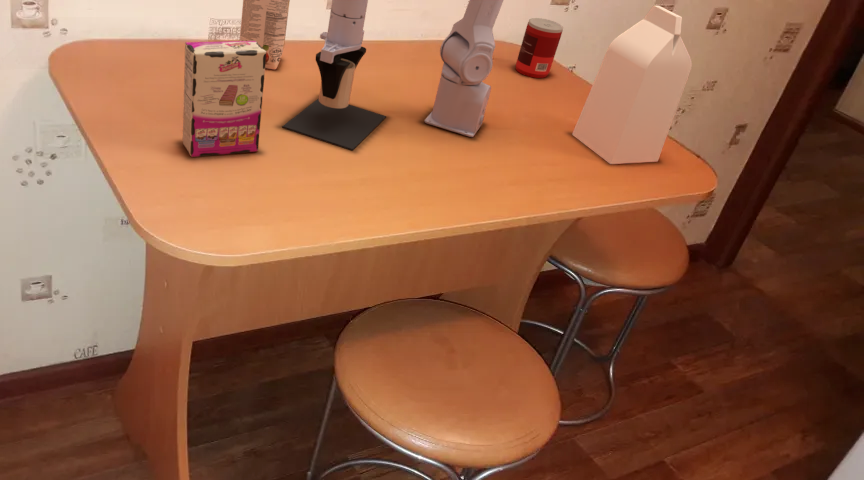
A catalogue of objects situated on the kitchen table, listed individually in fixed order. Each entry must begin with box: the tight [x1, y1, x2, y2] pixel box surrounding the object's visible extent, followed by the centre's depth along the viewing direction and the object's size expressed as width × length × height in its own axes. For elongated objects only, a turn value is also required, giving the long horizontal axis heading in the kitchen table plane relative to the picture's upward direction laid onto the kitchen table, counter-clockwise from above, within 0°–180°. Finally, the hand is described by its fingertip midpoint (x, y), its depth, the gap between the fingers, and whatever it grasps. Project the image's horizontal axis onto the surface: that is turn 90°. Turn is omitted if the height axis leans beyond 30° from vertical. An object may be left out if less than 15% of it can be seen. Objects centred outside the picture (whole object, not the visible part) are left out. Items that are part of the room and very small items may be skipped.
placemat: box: [281, 97, 387, 151], centre depth 139 cm, size 13×17×1 cm
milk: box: [571, 5, 693, 165], centre depth 144 cm, size 12×12×26 cm
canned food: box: [515, 17, 564, 79], centre depth 176 cm, size 8×8×11 cm
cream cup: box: [318, 58, 356, 108], centre depth 136 cm, size 5×5×7 cm
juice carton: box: [239, 0, 291, 70], centre depth 151 cm, size 8×9×19 cm
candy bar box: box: [182, 40, 266, 158], centre depth 120 cm, size 11×5×16 cm, turn 118°
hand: (335, 91), depth 137 cm, fingers closed on cream cup, 5 cm apart
